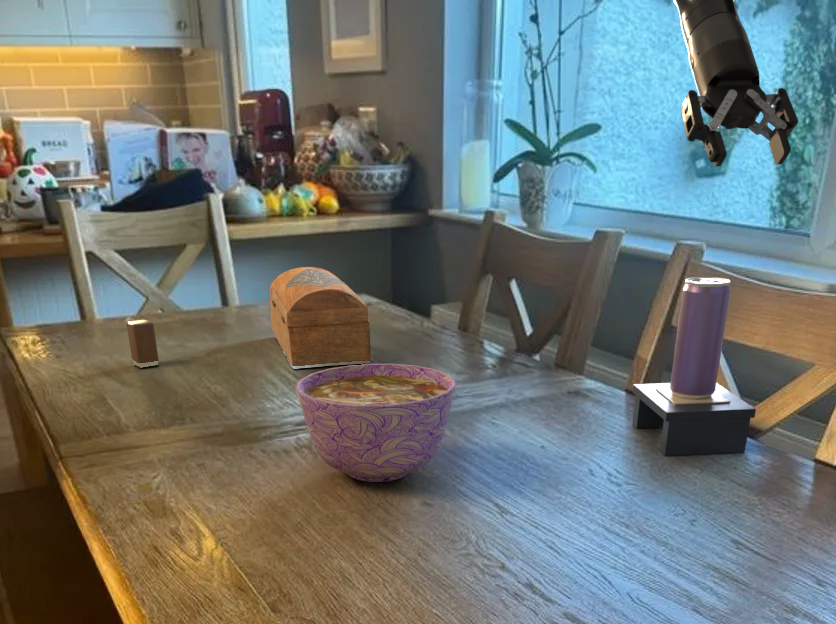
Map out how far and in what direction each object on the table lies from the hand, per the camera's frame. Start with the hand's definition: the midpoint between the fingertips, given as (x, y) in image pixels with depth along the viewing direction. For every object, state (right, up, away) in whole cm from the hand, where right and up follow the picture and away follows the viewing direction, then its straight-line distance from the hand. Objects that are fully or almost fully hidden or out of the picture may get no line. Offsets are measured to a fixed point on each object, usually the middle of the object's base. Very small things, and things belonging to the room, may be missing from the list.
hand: (752, 160), depth 116 cm
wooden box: (-60, -7, +63) cm, 87 cm away
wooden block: (-92, -12, +55) cm, 108 cm away
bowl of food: (-48, -40, +2) cm, 62 cm away
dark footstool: (-5, -33, +12) cm, 36 cm away
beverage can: (-5, -28, +9) cm, 30 cm away
